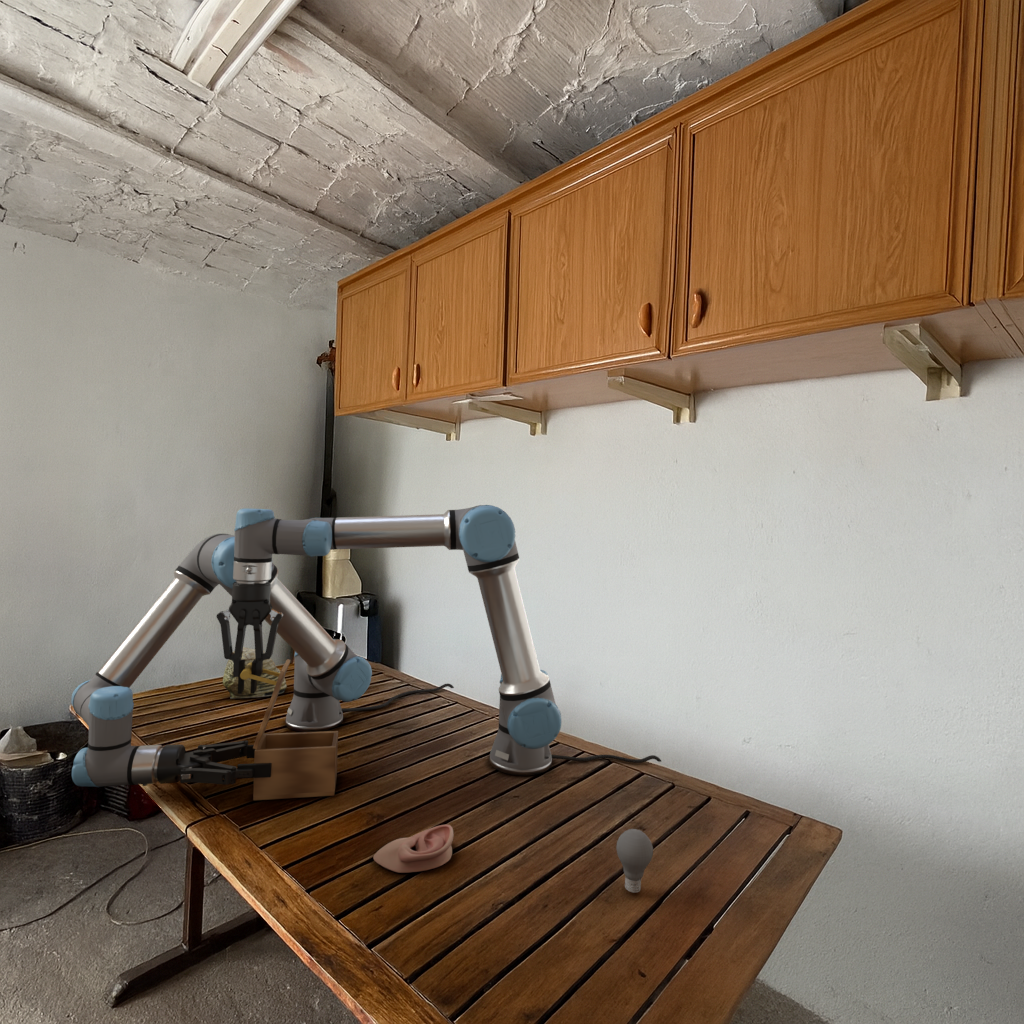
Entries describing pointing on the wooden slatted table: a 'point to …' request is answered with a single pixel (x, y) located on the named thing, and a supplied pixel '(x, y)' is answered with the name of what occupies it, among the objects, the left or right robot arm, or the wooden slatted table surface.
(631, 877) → the light bulb
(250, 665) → the lid
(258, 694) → the fossil
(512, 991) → the wooden slatted table surface
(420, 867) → the anatomical model
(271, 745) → the chest
